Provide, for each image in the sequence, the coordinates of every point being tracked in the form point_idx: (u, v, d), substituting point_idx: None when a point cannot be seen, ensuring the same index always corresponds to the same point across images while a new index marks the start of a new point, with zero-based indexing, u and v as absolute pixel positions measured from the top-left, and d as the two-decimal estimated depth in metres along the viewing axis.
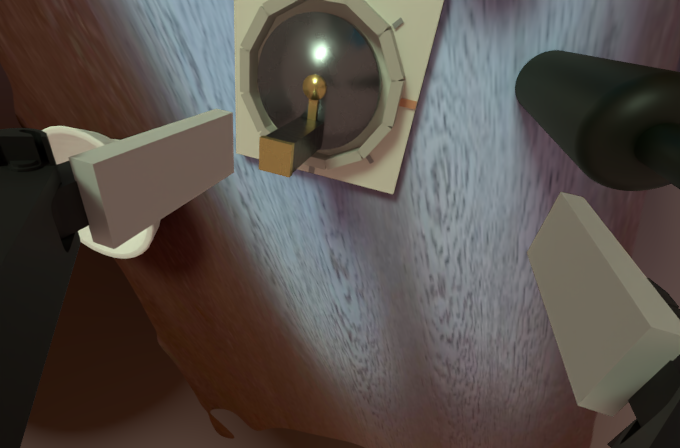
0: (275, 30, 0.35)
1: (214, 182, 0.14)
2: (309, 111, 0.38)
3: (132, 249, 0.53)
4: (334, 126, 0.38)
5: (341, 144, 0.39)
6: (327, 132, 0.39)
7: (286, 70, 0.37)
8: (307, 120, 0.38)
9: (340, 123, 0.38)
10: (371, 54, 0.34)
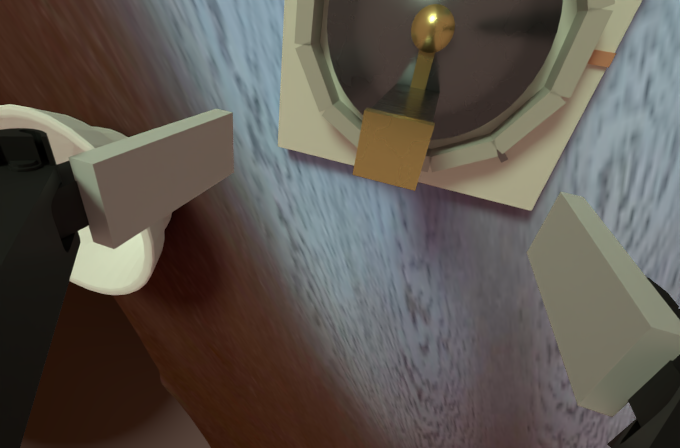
0: None
1: (214, 182, 0.14)
2: (416, 73, 0.22)
3: (124, 282, 0.38)
4: (456, 99, 0.23)
5: (464, 130, 0.23)
6: (442, 110, 0.23)
7: (382, 0, 0.21)
8: (413, 89, 0.22)
9: (468, 94, 0.22)
10: None
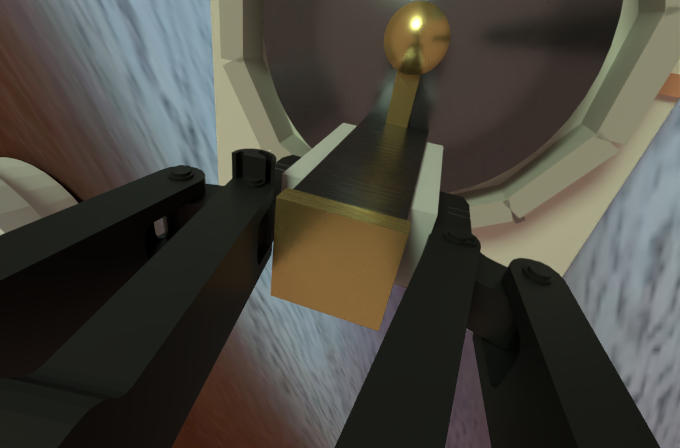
0: None
1: None
2: (394, 104, 0.15)
3: None
4: (453, 142, 0.15)
5: (465, 184, 0.16)
6: None
7: None
8: (389, 127, 0.15)
9: (471, 135, 0.15)
10: None
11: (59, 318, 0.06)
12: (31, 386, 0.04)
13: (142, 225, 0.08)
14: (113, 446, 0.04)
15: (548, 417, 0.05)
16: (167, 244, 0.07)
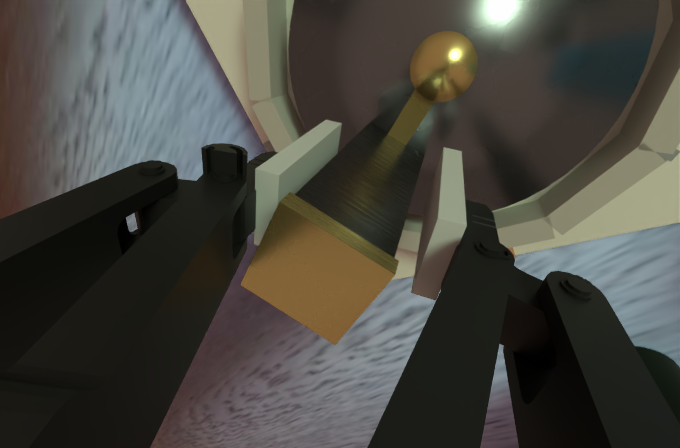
0: None
1: None
2: (401, 120, 0.15)
3: None
4: None
5: None
6: (420, 179, 0.17)
7: None
8: (390, 140, 0.15)
9: None
10: (650, 35, 0.12)
11: (33, 315, 0.06)
12: (3, 383, 0.04)
13: (115, 220, 0.08)
14: (93, 438, 0.04)
15: (587, 437, 0.05)
16: (139, 241, 0.07)
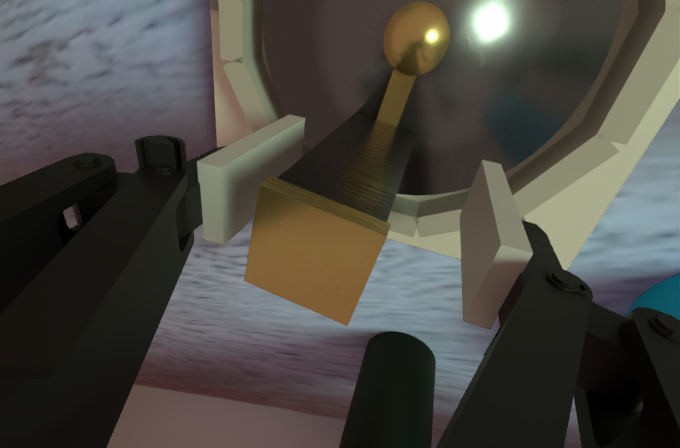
0: None
1: None
2: (386, 101, 0.15)
3: None
4: (439, 146, 0.16)
5: (446, 189, 0.17)
6: (418, 157, 0.16)
7: None
8: (379, 124, 0.15)
9: (458, 142, 0.15)
10: None
11: None
12: None
13: (53, 213, 0.08)
14: (48, 427, 0.04)
15: None
16: (75, 237, 0.06)
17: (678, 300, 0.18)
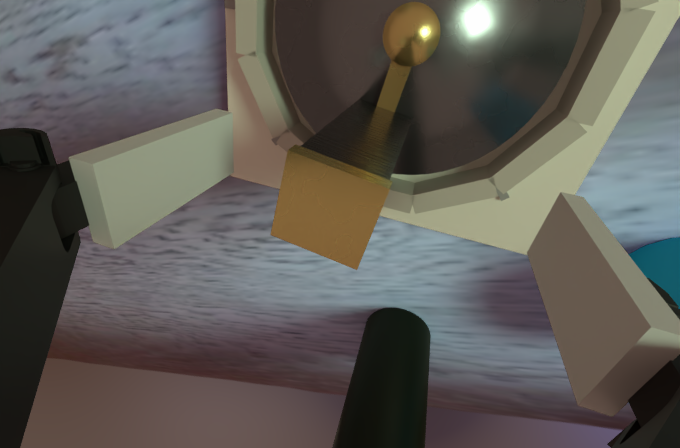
0: None
1: (214, 182, 0.14)
2: (385, 90, 0.17)
3: None
4: (432, 130, 0.18)
5: (438, 168, 0.19)
6: (414, 140, 0.18)
7: None
8: (379, 109, 0.17)
9: (448, 126, 0.17)
10: None
11: None
12: None
13: None
14: None
15: None
16: None
17: (644, 267, 0.20)
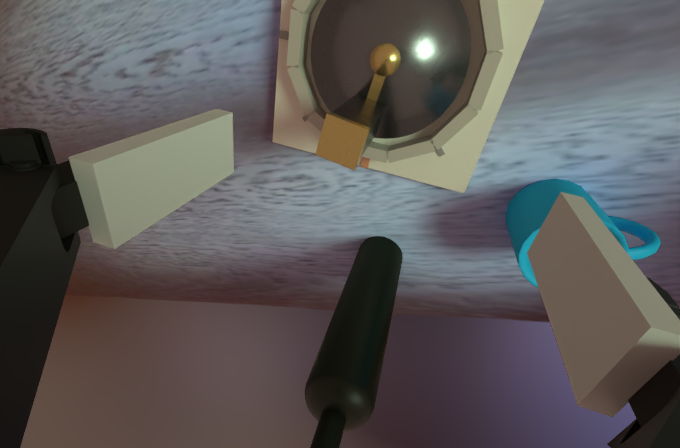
0: None
1: (214, 182, 0.14)
2: (371, 88, 0.31)
3: None
4: (397, 112, 0.32)
5: (402, 134, 0.33)
6: (387, 117, 0.32)
7: (352, 32, 0.29)
8: (368, 99, 0.31)
9: (406, 109, 0.31)
10: (468, 29, 0.27)
11: None
12: None
13: None
14: None
15: None
16: None
17: (523, 197, 0.34)
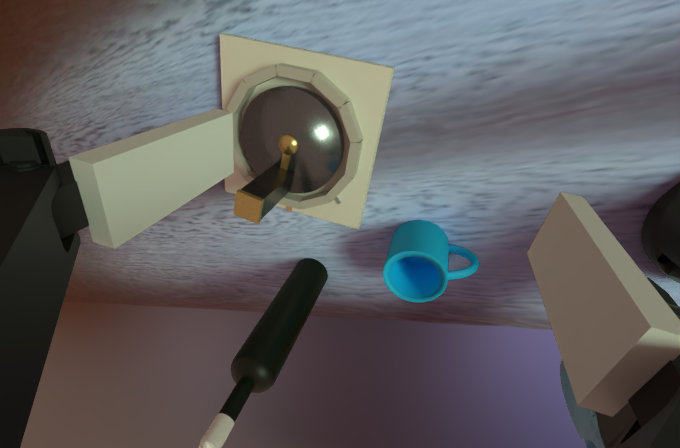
0: (259, 95, 0.42)
1: (214, 182, 0.14)
2: (282, 162, 0.45)
3: None
4: (302, 176, 0.46)
5: (307, 191, 0.47)
6: (296, 180, 0.46)
7: (266, 127, 0.44)
8: (280, 169, 0.45)
9: (307, 175, 0.46)
10: (336, 128, 0.41)
11: None
12: None
13: None
14: None
15: None
16: None
17: (397, 232, 0.48)
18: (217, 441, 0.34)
